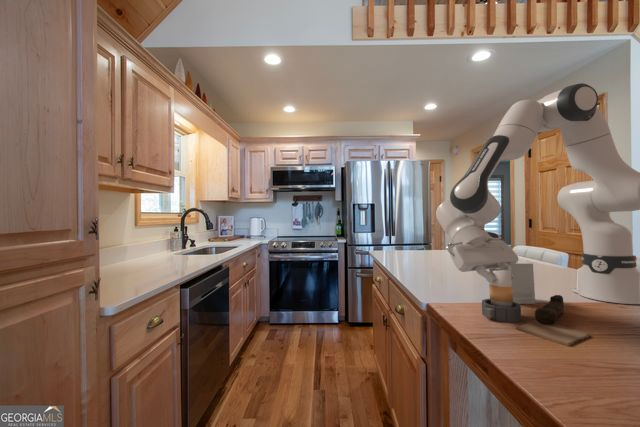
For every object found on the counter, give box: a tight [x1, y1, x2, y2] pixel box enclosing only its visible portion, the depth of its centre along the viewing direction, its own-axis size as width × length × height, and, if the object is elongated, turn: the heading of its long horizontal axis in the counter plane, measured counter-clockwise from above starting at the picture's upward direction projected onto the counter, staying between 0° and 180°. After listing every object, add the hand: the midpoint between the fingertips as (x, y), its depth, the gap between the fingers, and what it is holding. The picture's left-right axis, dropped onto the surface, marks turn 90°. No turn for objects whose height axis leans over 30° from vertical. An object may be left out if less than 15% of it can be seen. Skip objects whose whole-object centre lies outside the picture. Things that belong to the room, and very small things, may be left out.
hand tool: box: [534, 294, 565, 325], centre depth 71 cm, size 19×4×5 cm, turn 127°
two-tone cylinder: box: [488, 268, 513, 307], centre depth 74 cm, size 5×5×10 cm
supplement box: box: [496, 260, 536, 305], centre depth 88 cm, size 7×7×13 cm
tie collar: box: [481, 298, 522, 323], centre depth 74 cm, size 10×9×4 cm
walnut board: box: [515, 319, 591, 347], centre depth 63 cm, size 10×10×1 cm
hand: (502, 280), depth 74 cm, fingers closed on two-tone cylinder, 5 cm apart
